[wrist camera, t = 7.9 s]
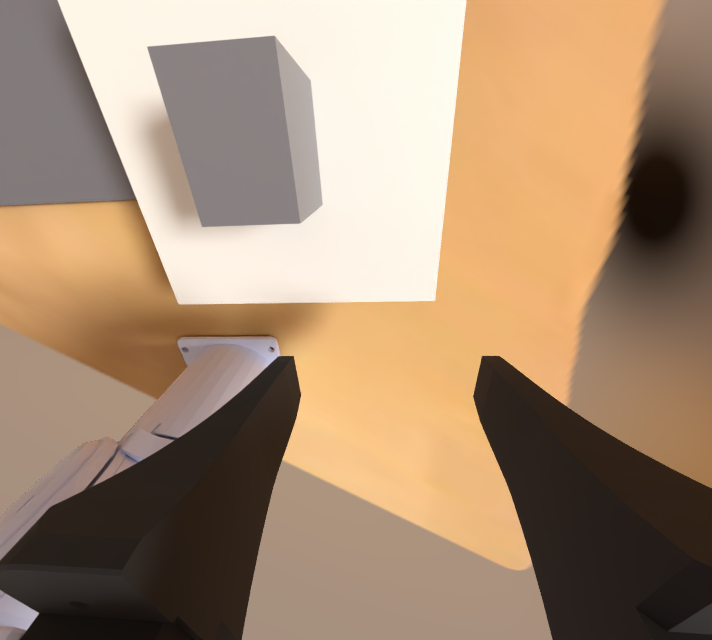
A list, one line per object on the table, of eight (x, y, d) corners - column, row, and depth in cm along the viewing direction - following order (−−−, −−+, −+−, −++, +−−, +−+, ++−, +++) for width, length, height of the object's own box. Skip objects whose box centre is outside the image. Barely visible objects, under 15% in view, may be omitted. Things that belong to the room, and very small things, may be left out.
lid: (431, 292, 14) (455, 349, 10) (189, 296, 15) (116, 349, 11) (471, -129, 8) (587, -476, 4) (51, -76, 9) (-257, -302, 5)
